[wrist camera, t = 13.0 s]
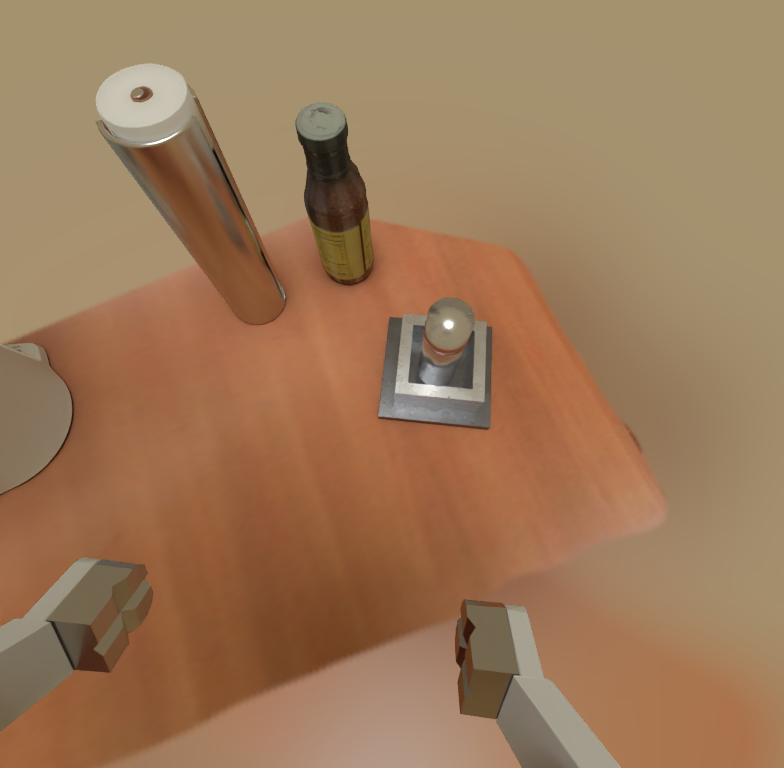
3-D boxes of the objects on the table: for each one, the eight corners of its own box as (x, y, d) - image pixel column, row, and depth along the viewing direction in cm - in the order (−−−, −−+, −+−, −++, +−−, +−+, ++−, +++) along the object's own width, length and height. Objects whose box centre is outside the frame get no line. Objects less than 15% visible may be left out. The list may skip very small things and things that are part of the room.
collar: (378, 418, 44) (377, 406, 39) (389, 321, 48) (390, 299, 43) (487, 429, 44) (499, 418, 39) (490, 330, 47) (501, 310, 43)
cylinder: (415, 385, 44) (424, 338, 33) (418, 350, 45) (427, 294, 34) (453, 389, 44) (475, 343, 33) (455, 354, 45) (477, 298, 34)
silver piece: (250, 270, 50) (125, 44, 26) (295, 289, 49) (210, 75, 25) (221, 312, 48) (60, 110, 24) (269, 333, 47) (149, 145, 23)
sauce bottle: (349, 236, 52) (328, 75, 33) (383, 266, 50) (382, 115, 31) (311, 267, 50) (266, 115, 31) (345, 298, 49) (319, 159, 30)
